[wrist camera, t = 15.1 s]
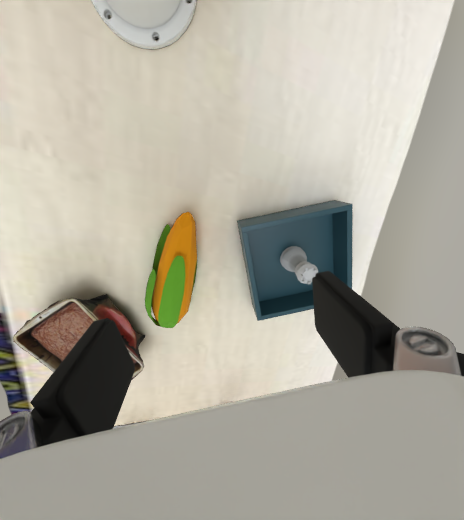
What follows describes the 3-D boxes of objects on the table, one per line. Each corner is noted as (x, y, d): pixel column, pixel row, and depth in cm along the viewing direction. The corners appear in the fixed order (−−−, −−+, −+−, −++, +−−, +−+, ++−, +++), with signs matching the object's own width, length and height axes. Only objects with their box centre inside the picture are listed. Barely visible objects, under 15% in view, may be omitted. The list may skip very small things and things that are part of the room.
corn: (136, 338, 35) (153, 209, 28) (145, 310, 42) (161, 201, 35) (185, 343, 37) (211, 222, 30) (186, 314, 44) (208, 211, 37)
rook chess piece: (276, 267, 41) (291, 288, 33) (282, 243, 39) (299, 260, 32) (300, 270, 41) (320, 291, 34) (307, 246, 40) (329, 263, 32)
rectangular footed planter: (111, 271, 41) (71, 294, 31) (163, 349, 45) (141, 391, 35) (50, 304, 43) (-5, 334, 34) (104, 375, 47) (68, 421, 37)
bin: (237, 220, 38) (240, 227, 33) (335, 200, 38) (352, 204, 33) (252, 305, 44) (257, 321, 39) (336, 287, 44) (351, 300, 39)
